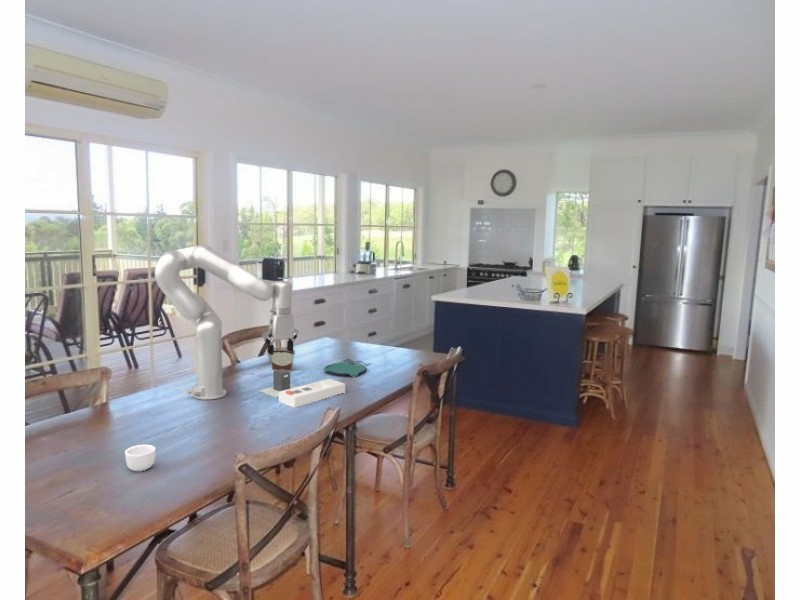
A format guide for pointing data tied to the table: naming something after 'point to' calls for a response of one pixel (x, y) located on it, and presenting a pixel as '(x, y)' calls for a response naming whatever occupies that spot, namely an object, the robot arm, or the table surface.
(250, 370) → the table surface
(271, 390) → the mat
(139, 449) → the teacup
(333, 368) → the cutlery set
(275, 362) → the food container
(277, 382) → the block
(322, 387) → the power strip
